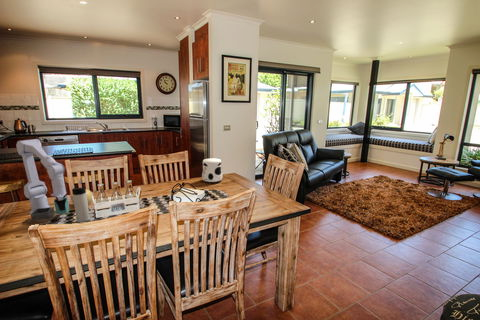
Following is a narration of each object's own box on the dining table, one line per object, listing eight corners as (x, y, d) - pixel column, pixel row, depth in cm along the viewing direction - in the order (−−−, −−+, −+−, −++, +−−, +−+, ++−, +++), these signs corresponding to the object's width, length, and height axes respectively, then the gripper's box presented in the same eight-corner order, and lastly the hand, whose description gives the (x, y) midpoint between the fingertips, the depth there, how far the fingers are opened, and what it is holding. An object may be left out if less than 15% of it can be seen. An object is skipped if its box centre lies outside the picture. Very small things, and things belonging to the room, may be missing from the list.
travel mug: (76, 224, 139) (70, 190, 134) (78, 219, 145) (72, 186, 140) (89, 222, 141) (84, 188, 137) (90, 217, 147) (86, 184, 143)
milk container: (198, 180, 216) (197, 160, 212) (214, 176, 228) (214, 157, 224) (210, 185, 204) (209, 163, 200) (226, 181, 216) (226, 160, 212)
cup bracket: (37, 213, 150) (36, 208, 149) (56, 211, 152) (55, 206, 151) (29, 220, 141) (28, 215, 140) (49, 218, 143) (48, 213, 143)
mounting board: (37, 214, 151) (37, 212, 151) (59, 212, 154) (58, 210, 154) (26, 224, 139) (26, 222, 139) (50, 221, 142) (50, 219, 142)
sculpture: (76, 201, 170) (74, 186, 168) (96, 200, 173) (94, 185, 170) (69, 208, 159) (66, 192, 157) (90, 207, 162) (87, 191, 160)
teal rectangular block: (59, 211, 148) (57, 198, 146) (69, 209, 149) (67, 197, 148) (56, 214, 143) (54, 201, 141) (66, 213, 145) (64, 200, 143)
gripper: (50, 183, 146) (53, 205, 149) (49, 190, 135) (53, 214, 138) (64, 181, 150) (68, 203, 153) (65, 188, 139) (69, 211, 142)
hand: (62, 208), depth 146 cm, fingers closed on teal rectangular block, 6 cm apart
